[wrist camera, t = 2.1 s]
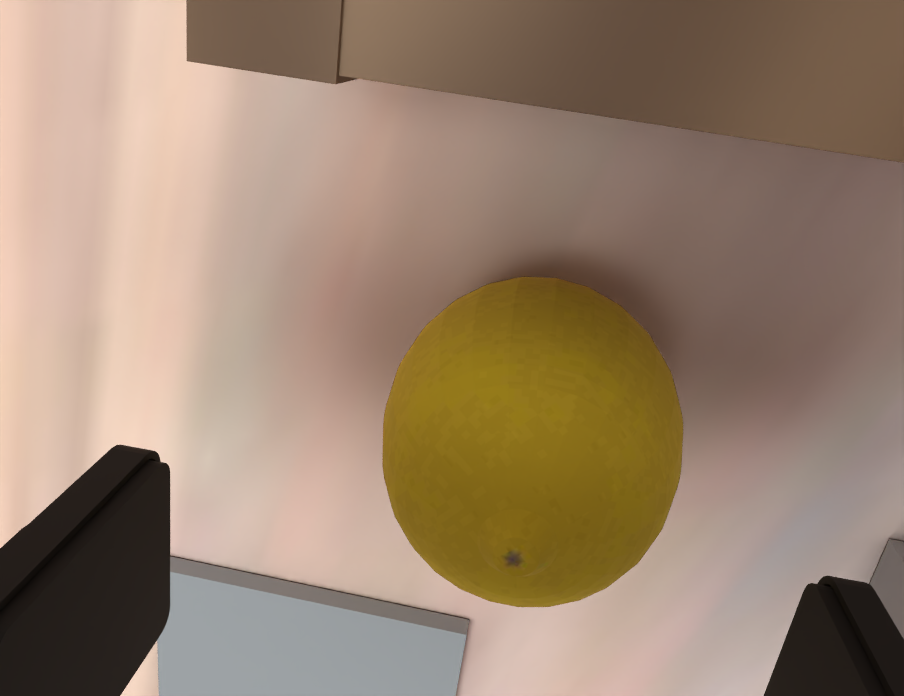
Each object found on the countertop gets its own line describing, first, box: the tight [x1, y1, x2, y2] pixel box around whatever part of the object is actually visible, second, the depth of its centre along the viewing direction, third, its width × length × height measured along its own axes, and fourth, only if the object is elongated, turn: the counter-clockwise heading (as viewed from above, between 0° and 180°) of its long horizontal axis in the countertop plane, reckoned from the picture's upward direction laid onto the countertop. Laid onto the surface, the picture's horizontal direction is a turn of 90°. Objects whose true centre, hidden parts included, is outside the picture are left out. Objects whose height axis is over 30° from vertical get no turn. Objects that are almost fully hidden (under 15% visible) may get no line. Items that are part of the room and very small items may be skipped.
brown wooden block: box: [187, 0, 904, 163], centre depth 12 cm, size 12×2×6 cm, turn 82°
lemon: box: [383, 277, 683, 607], centre depth 15 cm, size 6×6×8 cm
